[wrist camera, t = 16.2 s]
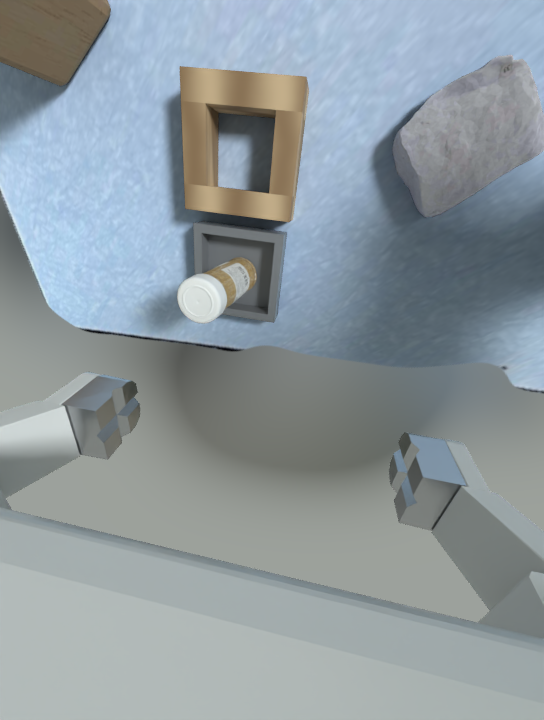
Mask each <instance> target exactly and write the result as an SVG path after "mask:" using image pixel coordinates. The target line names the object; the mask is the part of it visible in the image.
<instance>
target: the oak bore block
mask: <svg viewBox="0 0 544 720" xmlns="http://www.w3.org/2000/svg"><path fill="white" fill-rule="evenodd" d="M180 88H181V114H182V139H183V164H184V190H185V209H191V210H199V211H206V212H214V213H222V214H230V215H237V216H245V217H253V218H261V219H269V220H276V221H284V222H290V221H291V220H293V214H294V206H295V198H296V190H297V182H298V174H299V166H300V158H301V150H302V142H303V134H304V126H305V118H306V110H307V102H308V94H309V88H308V82H307V77H303V76H291V75H278V74H266V73H254V72H242V71H230V70H218V69H206V68H194V67H181V66H180ZM219 113H226V114H236V115H247V116H257V117H268V118H275V129H274V141H273V153H272V165H271V176H270V188H269V193H265V192H257V191H249V190H240V189H232V188H224V187H218V124H219Z"/></svg>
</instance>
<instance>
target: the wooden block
mask: <svg viewBox="0 0 544 720" xmlns="http://www.w3.org/2000/svg"><path fill="white" fill-rule="evenodd" d="M110 11H111V8H110V6H109V3H108V1H107V0H0V62H2V63H4V64H7V65H9V66H12V67H14V68H17V69H19V70H22V71H24V72H27V73H29V74H32V75H34V76H37V77H39V78H42V79H44V80H47V81H49V82H52V83H54V84H57V85H59V86H62V85H65V84H67V83H68V82H69V80H70V79H71V77H72V76H73V74H74V72H75V71H76V69H77V68H78V66H79V64H80V63H81V61H82V60H83V58H84V56H85V55H86V53H87V52H88V50H89V48H90V47H91V45H92V44H93V42H94V40H95V39H96V37H97V36H98V34H99V32H100V31H101V29H102V28H103V26H104V24H105V23H106V21H107V20H108V18H109V16H110Z"/></svg>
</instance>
